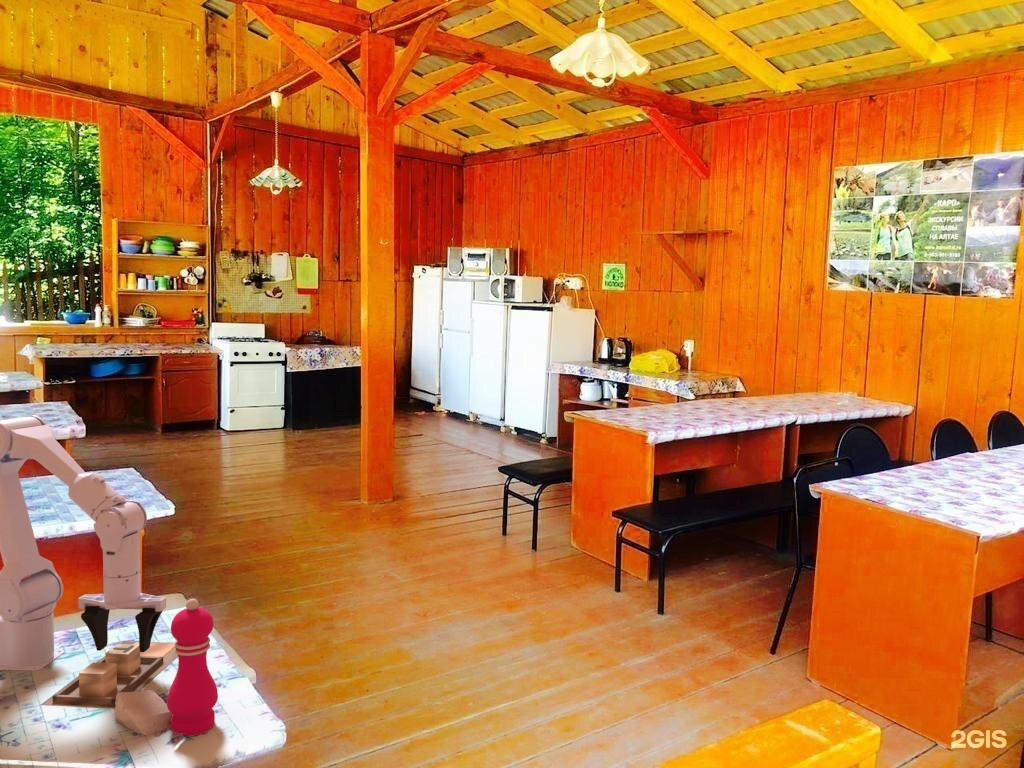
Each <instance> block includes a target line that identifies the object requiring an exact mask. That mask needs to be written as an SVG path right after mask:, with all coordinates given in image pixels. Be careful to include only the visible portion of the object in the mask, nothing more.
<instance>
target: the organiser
mask: <svg viewBox="0 0 1024 768" xmlns="http://www.w3.org/2000/svg"><path fill="white" fill-rule="evenodd" d="M121 644H135V645H139V640H138V641H135V640H134V641H133V640H124V641H123V642H122V643H121ZM174 644H175V642H161V641H160V642H159V641H156V642H155V641H151V643H150V648H149V649H147V650H146V651H145V652H140V667H139V668H138V669H137V670H136V671H135V672H133V673H132V674H131V675H117V687H116V688H115V689H113V690H112V691H111V692H110V693H109V694H107V695H106V696H105V697H101V696H79V675H78V676H76V677H75V678H74V679H73V680H71V681H70V682H69V683H67V684H66V685H64V686H63V687H62V688H60V689H59V690H58V691H56V692H55V693H54V694H53V695H51V696H50V697H48V698H47V699H46V700H44V701H43V702H42V703H41V704H40V706H51V707H52V706H53V707H54V706H55V707H56V706H58V707H77V708H79V707H80V708H99V709H100V708H103V709H115V708H116V705H115V703H116V696H117V693H120V692H134V691H143V689H144V688H145V687H146V686H147V685H148V684H150V683H151V682H152V681H153V680H154V679H155V678H156V677H157V676H158V675H160V674H161V673H162V672H163V671H164V670H165V669H166V668H167V667H168V666H169V665H170V664H171V663H173V661H175V660H176V659H178V654H176V653H175V651H174V650H175V645H174ZM96 663H105V655H104V656H103V657H101V658H100V659H99V660H98V661H96Z"/></svg>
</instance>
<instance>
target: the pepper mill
mask: <svg viewBox="0 0 1024 768" xmlns="http://www.w3.org/2000/svg"><path fill="white" fill-rule="evenodd" d="M185 607H186V608H184V609H182V610H180V611H178V612H177V613H176V614H175V616H174V617H173V618H172V621H171V625H170V633H171V636H172V637H173V638H174V639H175V642H174V643H175V644H174V645H175V650H174V651H175V653H176V654H178V657H177V659H178V664H177V671H176V673H175V677H174V678H173V681H172V683H171V685H170V687H169V689H168V693H167V699H166V704H167V708H168V710H169V711H170V712H171V713H172V714H173V715H172V717H171V725H170V729H171V731H172V732H173V733H175V734H179V735H183V737H193V736H198V735H201V734H203V733H206V732H208V731H209V730H211V729H212V728H213V727H214V725H215V721H216V719H215V717H216V714H215V710H214V707H215V706H216V704H217V702H218V699H219V693H218V687H217V684H216V680H214V677H213V676H212V674H211V673H210V670H209V667H208V663H207V661H208V660H207V654H208V650H209V649H210V648H211V644H210V642H211V639H210V637H209V636H210V635H211V634H212V631H213V630H214V624H215V623H214V618H213V616H212V614H211V612H209V610H207V609H205V608H203V607H199V600H198V599H196V598H189V599H187V601H186V602H185Z"/></svg>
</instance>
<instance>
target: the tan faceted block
mask: <svg viewBox="0 0 1024 768" xmlns="http://www.w3.org/2000/svg"><path fill="white" fill-rule="evenodd" d="M115 705H116V708H114V717H115V719H116V721H117V722H118V723H120V724H122V725H123V726H125V728H128V729H129V730H132V731H134V732H135V733H138V734H140V735H143V736H147V735H151V734H153V733H156V732H158V731H161V730H164V729H165V728H168V727H171V717H172V715H173V714H172V713H171V712H170V711H169V710H168V708H167V703H165V701H164V700H163V699H162V698H161V696H159V695H158V694H157V693H156V692H155V691H154V690H153V689H144V690H140V691H134V692H120V693H117V696H116V703H115Z"/></svg>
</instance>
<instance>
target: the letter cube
mask: <svg viewBox="0 0 1024 768" xmlns="http://www.w3.org/2000/svg"><path fill="white" fill-rule="evenodd" d="M104 656H105V663H117V675H131V674H132V673H133V672H135V671H136V670H137V669H138V668H139V667H140V649H139V645H135V644H122V643H116V645H114V646H113V647H112V648H110V649H109V650H108V651H107V652H105V653H104Z"/></svg>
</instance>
